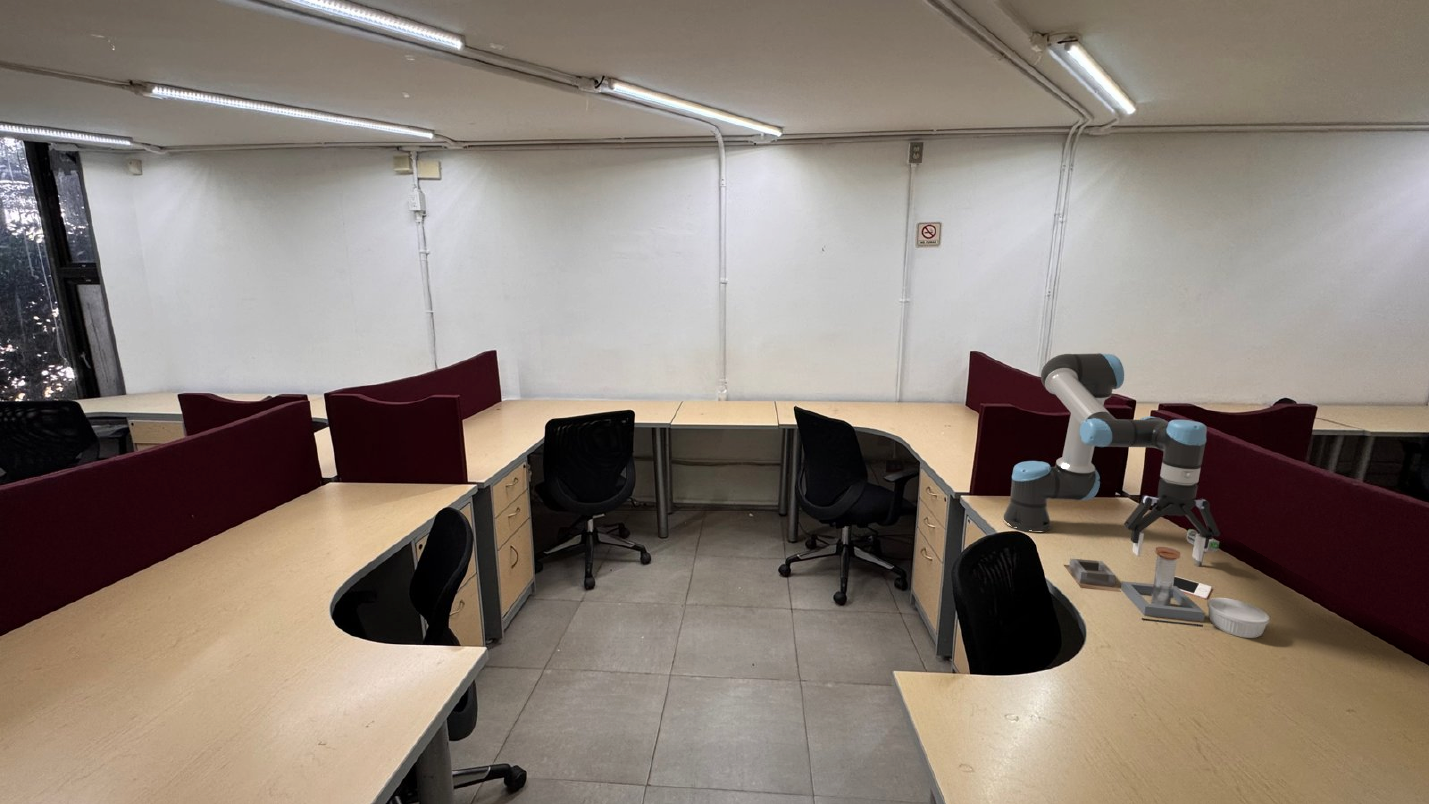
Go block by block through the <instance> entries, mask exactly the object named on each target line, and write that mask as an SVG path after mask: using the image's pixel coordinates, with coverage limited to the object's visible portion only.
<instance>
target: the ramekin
mask: <svg viewBox="0 0 1429 804" xmlns="http://www.w3.org/2000/svg"><path fill="white" fill-rule="evenodd" d="M1206 605H1207V607H1208V608H1207V609H1208V617H1209V618H1208V619H1209V621H1210V622H1211V623H1212V625H1213V626H1214V627H1216V628H1217V629H1218V630H1220V631H1222V632H1224V633H1226V634H1229V635H1231V636H1232V635H1233V636H1236V637H1239V638H1240V637H1241V638H1244V639H1245V638H1246V639H1255V638H1259V637H1260V636H1262V635H1263V633H1264V631H1265V629H1266V627H1267V625H1268V624H1269V623H1270V616H1269V615H1268V614H1267V612H1265V611H1264V610H1262V609H1260V608H1259V607H1257V606H1255V605H1252V604H1250V603H1247V602H1244V601H1241V600H1239V599H1238V600H1236V599H1232V598H1227V597H1213V598H1210V599H1208V600H1207V604H1206Z"/></svg>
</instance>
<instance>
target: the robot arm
mask: <svg viewBox="0 0 1429 804" xmlns="http://www.w3.org/2000/svg"><path fill="white" fill-rule="evenodd" d="M1040 380H1041V383H1042V385H1043V387H1044V389H1045V390H1046V391H1048V392H1049V394H1052V395H1055V396H1056V397H1057V398H1058V399H1059V400H1060V401H1061V403H1062V404H1063V406H1065V408H1066V409H1067V410H1068V411H1069V412H1070V416H1069V422H1068V427H1067V432H1066V435H1065V436H1066V437H1065V442H1064V447H1063V451H1062V457H1059V458H1058V459H1056V462H1055V465H1054V466H1051V465H1050V464H1049V463H1048V462H1045V461H1038V460H1027V461H1021V462H1019V463H1017V464H1015V465H1014V467H1013V469H1012V475H1011V487H1010V501H1009V503H1008V506H1007V507H1006V509H1005V512H1004V513H1003V518H1004V520H1005V521H1006V522H1007V523H1009V524H1010V525H1011V526H1012V527H1017V528H1013V529H1015V530H1017V531H1021V532H1026V533H1027V531H1029V530H1032V531H1046V530H1048V529H1049V528H1050V529H1051V519H1050V515H1049V512H1048V508H1047V506H1048V505H1047V504H1048V500H1062V501H1063V500H1066V501H1067V500H1069V501H1089V500H1091V499H1094V497H1095V496H1096V495H1097V493H1098V492H1099V488H1100V484H1101V481H1100V474H1099V472H1098V470H1097V469H1096V467H1095V465H1094V464H1093V463H1092V459H1093V455H1094V451H1095V447H1099V448H1104V447H1106V448H1107V447H1108V448H1109V447H1110V448H1111V447H1112V448H1115V447H1116V448H1117V447H1118V448H1151V449H1152V448H1153V449H1157V450H1160V451H1162V452H1163V456H1162V462H1161V469H1160V473H1159V474H1160V475H1159V477H1160V478H1159V479H1158V480H1159V481H1158V486H1157V495H1156V496H1155V497H1154V496H1149V495H1147V494H1143V495H1142V496H1141V501H1140V503H1139V504H1138V505H1137V507H1136V508H1134V510H1133V511H1132V513H1131V514H1130V515H1129V516H1128V518H1127V519H1126V520H1125V521H1124V523H1123V526H1124V527H1125V528H1126V529H1128V531H1129V530H1130V531H1131V534H1130V541H1131V542H1132V543H1133V544H1132V553H1134V555H1135V556H1137V557H1141V555H1142V549H1143V544H1144V543H1143V542H1144V536H1145V533H1144V532H1143V531H1144V530H1145V529H1147V528H1148V527H1150V525H1152V524H1154V523H1155V521H1157V520H1158V519H1160V518H1162V517H1165V516H1166V515H1167V516H1169V517H1170V516H1171V517H1172V516H1177V517H1183V516H1185V517H1186V518H1187V519H1188V520H1189V521H1190V522H1191V524H1192V525H1193V526H1194V527H1195V528H1196V529H1195V530H1196V531H1197V532H1198V534H1196V537H1195V542H1194V545H1193V549H1192V554H1191V557H1192V558H1193V559H1195V561H1196V560H1197V561H1200V562H1202V563H1203V561H1202V557H1203V558H1204V555H1203V551H1204V549H1207V548H1208V543H1209V539H1214V537H1219V536H1221V533H1220V530H1219V528H1218V526H1217V524H1216V522H1215V521H1216V520H1215V519H1214V516H1213V514H1212V513H1211V510H1210V509H1211V508H1210V505H1211V503H1210V502H1209V501H1207V500H1206V499H1204V498H1203V497H1200V498H1199V499H1196V497H1197V493H1198V492H1197V491H1198V488H1199V485H1198V483H1199V478H1200V474H1201V469H1202V468H1201V466H1202V463H1203V459H1204V458H1203V456H1204V452H1205V447H1206V443H1207V431H1208V430H1207V429H1208V428H1207V426H1206V425H1205V424H1204V423H1202V422H1199V421H1194V420H1191V419H1190V420H1189V419H1188V420H1187V419H1172V420H1170V421H1168V420H1165V419H1163V418H1160V417H1155V416H1144V417H1142V418H1140V419H1129V418H1127V419H1125V418H1123V419H1122V418H1121V419H1120V418H1119V419H1117V418H1115V417H1114V416H1113V415H1112V414H1111V413H1110V412H1109V411H1108V410H1107V409H1106V407H1105V406H1104V403H1105V401H1106V400H1107V399H1109V398H1111V397H1112V394H1113V390H1117V389H1120V388H1121V387H1122V386H1123V384H1124V381H1125V370H1124V365H1123V363H1122V361H1121V360H1120V358H1119V357H1118V356H1116V355H1114V354H1111V353H1100V352H1097V353H1064V354H1059V355H1056V356H1054V357H1052V358H1050V359H1049V360H1047V362H1046V363H1045V364H1044V365H1043V367H1042V370H1041V372H1040ZM1154 504H1156V505H1155V506H1154ZM1151 506H1152V509H1151V510H1150V508H1151ZM1195 507H1197V508H1198V510H1199V512H1200V514H1201V516H1202V519H1203V521H1204V523H1205V525H1206V527H1205V526H1204V525H1203V524H1202V523H1201V521H1200V520H1199V519H1198V518H1197V517H1196V515H1195V513H1194V512H1192V509H1194V508H1195ZM1149 510H1150V511H1149ZM1148 511H1149V512H1148ZM1147 512H1148V513H1147ZM1012 527H1011V528H1012ZM1048 531H1049V530H1048ZM1046 532H1047V531H1046ZM1200 534H1201V535H1200Z"/></svg>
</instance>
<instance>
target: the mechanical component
mask: <svg viewBox="0 0 1429 804" xmlns="http://www.w3.org/2000/svg"><path fill="white" fill-rule="evenodd" d="M1196 534H1200V535H1201V533H1199V531H1198V530H1196V529H1191V528H1189V529H1188V530H1187V533H1186V541H1187V542H1188V543H1189V544H1191V545H1193V546H1194V542H1195V537H1196ZM1219 547H1220V541H1219V540H1216V539H1215V538H1213V539H1209V543H1208V548H1207V549H1204V551H1203V557H1202V562H1200V561H1197V560H1196V559H1195V562H1194V566H1196V567H1199V566H1201V567H1203V566H1202V565H1203V560H1204V554H1207V552H1208V553H1217V552H1218V550H1219Z"/></svg>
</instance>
